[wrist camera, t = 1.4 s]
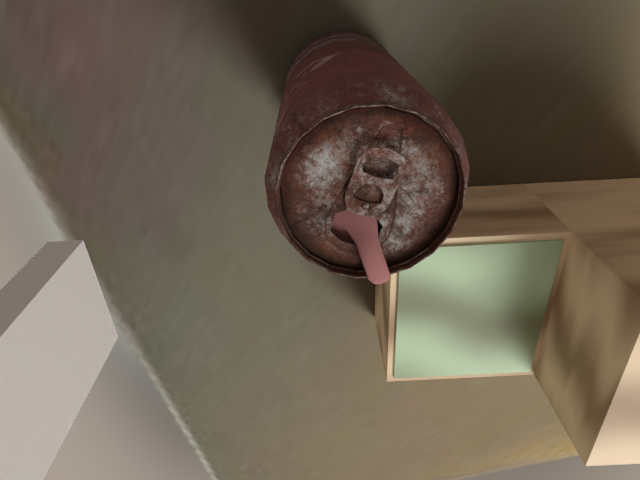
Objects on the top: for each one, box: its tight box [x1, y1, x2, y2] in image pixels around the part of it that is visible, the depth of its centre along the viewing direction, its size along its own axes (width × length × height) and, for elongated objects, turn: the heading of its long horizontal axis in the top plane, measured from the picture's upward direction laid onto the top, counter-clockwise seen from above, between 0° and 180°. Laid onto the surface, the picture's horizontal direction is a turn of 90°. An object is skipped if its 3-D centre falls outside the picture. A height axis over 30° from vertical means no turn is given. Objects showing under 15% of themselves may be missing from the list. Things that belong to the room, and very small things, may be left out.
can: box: [265, 31, 470, 284], centre depth 19 cm, size 6×6×14 cm
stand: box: [375, 178, 640, 466], centre depth 25 cm, size 10×17×12 cm, turn 93°
